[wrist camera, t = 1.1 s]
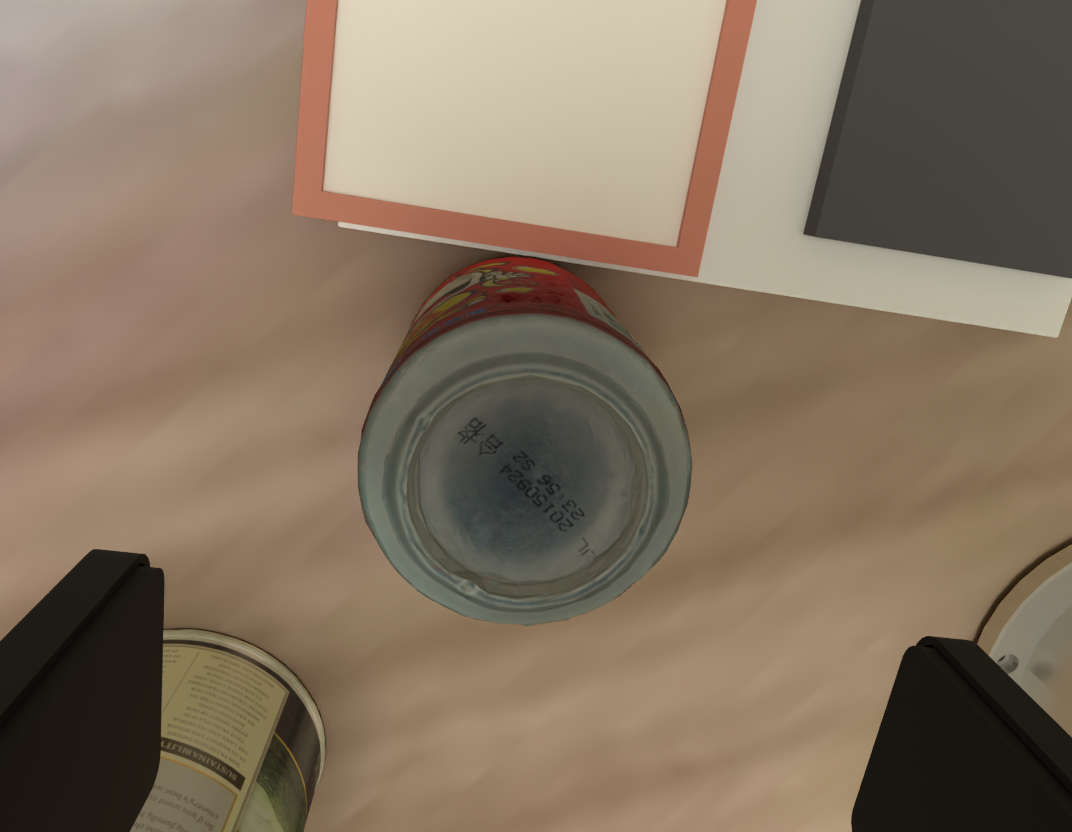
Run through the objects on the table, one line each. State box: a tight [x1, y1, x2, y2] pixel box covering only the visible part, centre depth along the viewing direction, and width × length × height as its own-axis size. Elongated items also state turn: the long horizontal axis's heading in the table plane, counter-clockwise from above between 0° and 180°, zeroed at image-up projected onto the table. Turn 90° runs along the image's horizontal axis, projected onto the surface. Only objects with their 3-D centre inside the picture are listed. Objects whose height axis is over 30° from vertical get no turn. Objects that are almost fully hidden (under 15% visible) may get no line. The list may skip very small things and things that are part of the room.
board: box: [338, 0, 1072, 338], centre depth 25 cm, size 24×13×1 cm, turn 81°
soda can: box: [358, 257, 692, 626], centre depth 22 cm, size 7×7×12 cm
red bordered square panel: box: [292, 0, 757, 277], centre depth 24 cm, size 13×13×1 cm
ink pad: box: [803, 0, 1072, 279], centre depth 25 cm, size 9×9×1 cm
